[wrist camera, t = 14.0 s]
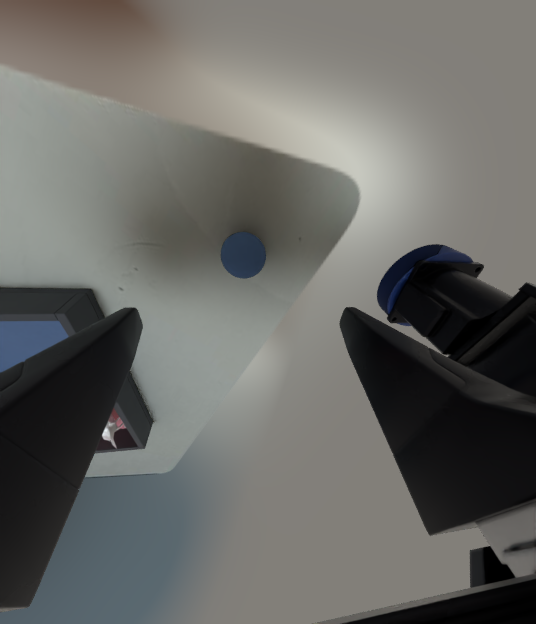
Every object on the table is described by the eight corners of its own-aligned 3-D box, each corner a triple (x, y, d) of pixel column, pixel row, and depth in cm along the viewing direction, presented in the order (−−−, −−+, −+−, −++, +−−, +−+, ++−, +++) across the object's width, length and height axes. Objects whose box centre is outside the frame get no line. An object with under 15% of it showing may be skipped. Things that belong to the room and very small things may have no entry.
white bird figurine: (57, 393, 20) (44, 443, 17) (116, 378, 22) (115, 420, 19) (86, 434, 24) (81, 479, 21) (133, 418, 27) (134, 456, 23)
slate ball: (264, 227, 15) (270, 241, 12) (261, 267, 16) (266, 286, 14) (221, 225, 14) (218, 239, 12) (222, 266, 16) (220, 286, 14)
